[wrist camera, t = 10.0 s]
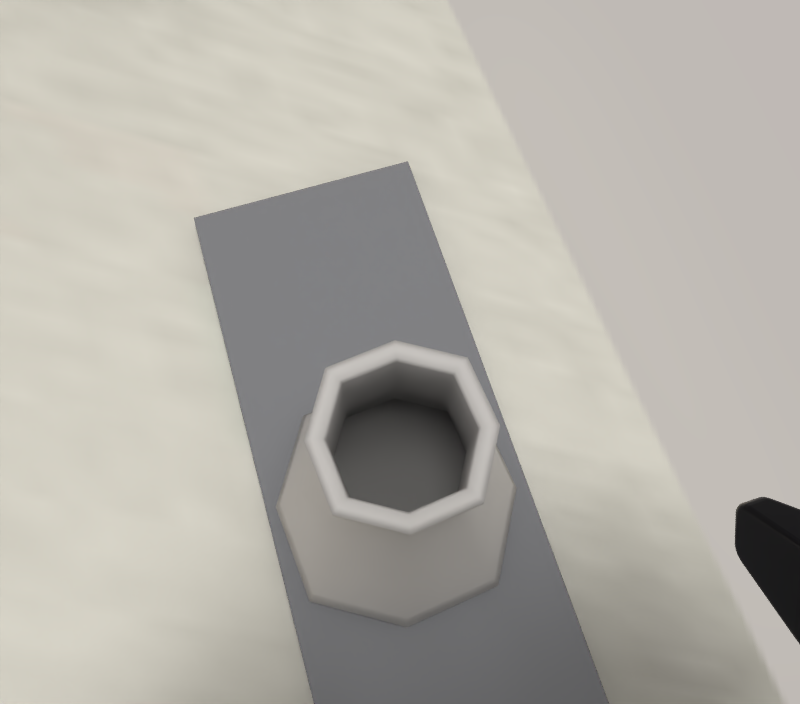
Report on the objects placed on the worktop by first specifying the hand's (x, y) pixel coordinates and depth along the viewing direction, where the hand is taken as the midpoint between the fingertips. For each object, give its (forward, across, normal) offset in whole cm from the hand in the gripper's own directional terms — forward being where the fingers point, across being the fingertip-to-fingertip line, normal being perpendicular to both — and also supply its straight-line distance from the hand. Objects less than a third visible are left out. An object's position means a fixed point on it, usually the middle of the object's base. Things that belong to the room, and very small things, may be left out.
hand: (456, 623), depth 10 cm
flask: (+10, 0, +5) cm, 11 cm away
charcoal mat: (+11, 0, +5) cm, 12 cm away
